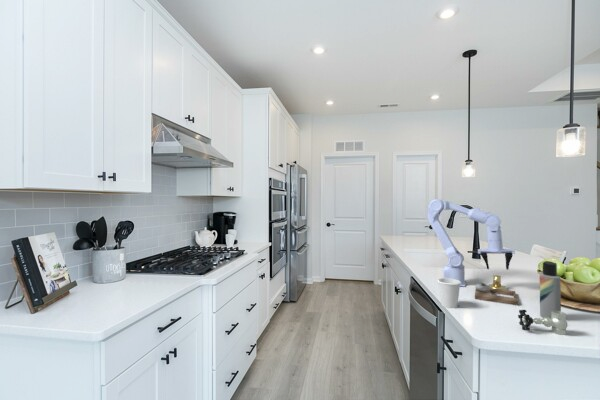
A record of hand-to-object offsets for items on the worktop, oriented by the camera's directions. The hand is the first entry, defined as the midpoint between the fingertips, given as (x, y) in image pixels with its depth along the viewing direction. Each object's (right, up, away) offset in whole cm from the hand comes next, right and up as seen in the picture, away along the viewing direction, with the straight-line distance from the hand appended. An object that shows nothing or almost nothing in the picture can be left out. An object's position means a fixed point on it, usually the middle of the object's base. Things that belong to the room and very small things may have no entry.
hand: (497, 268), depth 138 cm
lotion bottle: (-4, -10, -33) cm, 35 cm away
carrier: (-8, -10, -10) cm, 16 cm away
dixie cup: (-33, -10, -20) cm, 40 cm away
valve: (-15, -10, -44) cm, 47 cm away
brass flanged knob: (0, -10, 0) cm, 10 cm away
